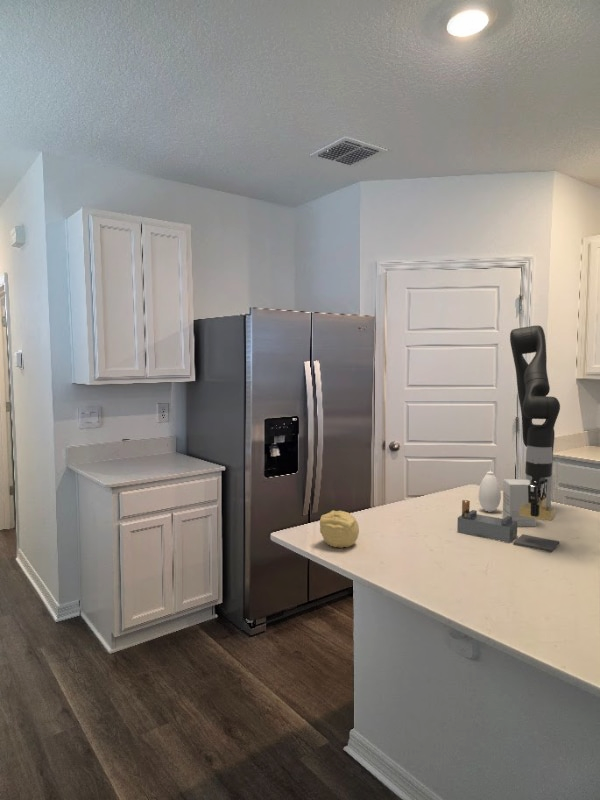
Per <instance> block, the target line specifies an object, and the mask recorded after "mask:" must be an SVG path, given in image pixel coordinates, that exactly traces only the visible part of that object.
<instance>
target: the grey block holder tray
mask: <svg viewBox="0 0 600 800" xmlns="http://www.w3.org/2000/svg"><path fill="white" fill-rule="evenodd" d="M470 505H471V503H470V500H468V499H463V500H462V501H461V515H459V516H458V517H457V525H456V526H457V528H456V529H457V530H456V531H457V533H461V534H464V535H470V536H474V537H479V538H483V539H488V538H489V539H490V540H493V539H495V540H494V541H498V540H500V541H499V542H503V541H504V542H503V543H510V544H511V542H512V541H513V540H515V539H517V536H518V526H517V521H512V517H510V516H507V517H505V518H504V519H503V518H500V517H495V516H494V517H493V516H488V515H484V514H478V513H477V512H478V511H477V510H475V509H471V510H470ZM489 539H488V540H489Z"/></svg>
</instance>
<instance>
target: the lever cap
mask: <svg viewBox="0 0 600 800" xmlns="http://www.w3.org/2000/svg"><path fill="white" fill-rule="evenodd" d="M533 500H535V497H533ZM555 509H556V508H555V507H552V506H551V507H546V497H541V498H540V501H539V516H538V517H535V516H531V504H530V503H529V502H528V504H526V503H524V504H523V505H521V506H520V516H523V517H529V518H535V519H536V520H541V521H545V522H546V521H547V522H551V521H553V519H555Z"/></svg>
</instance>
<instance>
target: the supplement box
mask: <svg viewBox="0 0 600 800" xmlns="http://www.w3.org/2000/svg"><path fill="white" fill-rule="evenodd" d="M528 485H530V480H526V479H521V478H520V479H519V478H518V479H512V478H508V479H507V478H504V479H503V486H502V487H503V490H502V491H503V493H502V519H504V518H505V517H507V516H510V517H512V521H517V527H532V528H533V527H536V520H537V519H535V518H529V517H523V516H520V506H521V505H523V504H524V503H526V504H528Z"/></svg>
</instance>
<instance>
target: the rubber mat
mask: <svg viewBox="0 0 600 800" xmlns="http://www.w3.org/2000/svg"><path fill="white" fill-rule="evenodd" d="M512 544H513V545H514V546H519V547H523V548H528V549H533V550H538V551H543V552H547V553H552V552H553V551H554V550H555V549H556V548H557V546H559V545H560V541H559V540H554V539H549V538H544V537H540V536H533V535H528V534H525V533H524V534H521V535H520V536H519V537H518V538H516V539H514V541H513V543H512Z"/></svg>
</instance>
